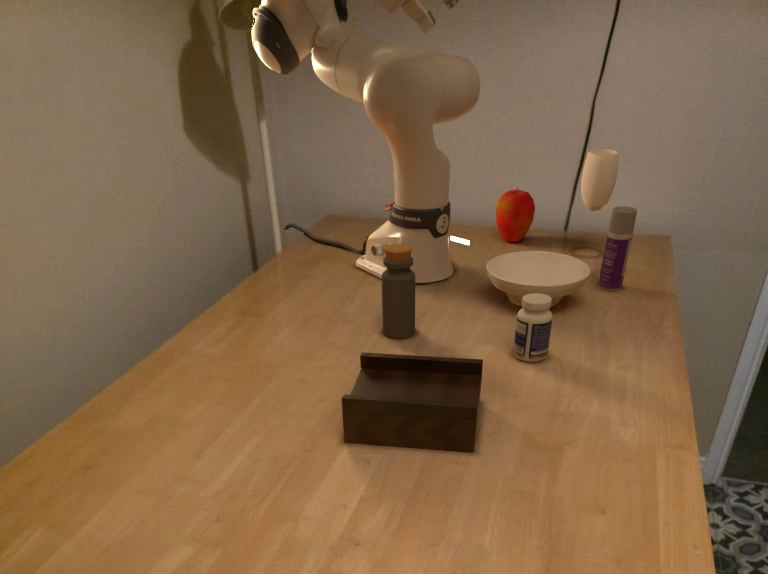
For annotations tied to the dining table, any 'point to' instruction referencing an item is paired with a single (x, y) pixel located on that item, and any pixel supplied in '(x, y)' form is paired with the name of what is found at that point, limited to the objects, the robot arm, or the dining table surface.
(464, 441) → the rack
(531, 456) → the dining table surface
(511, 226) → the apple
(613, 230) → the container
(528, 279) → the bowl
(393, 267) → the bottle
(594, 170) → the cup
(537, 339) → the pill bottle
